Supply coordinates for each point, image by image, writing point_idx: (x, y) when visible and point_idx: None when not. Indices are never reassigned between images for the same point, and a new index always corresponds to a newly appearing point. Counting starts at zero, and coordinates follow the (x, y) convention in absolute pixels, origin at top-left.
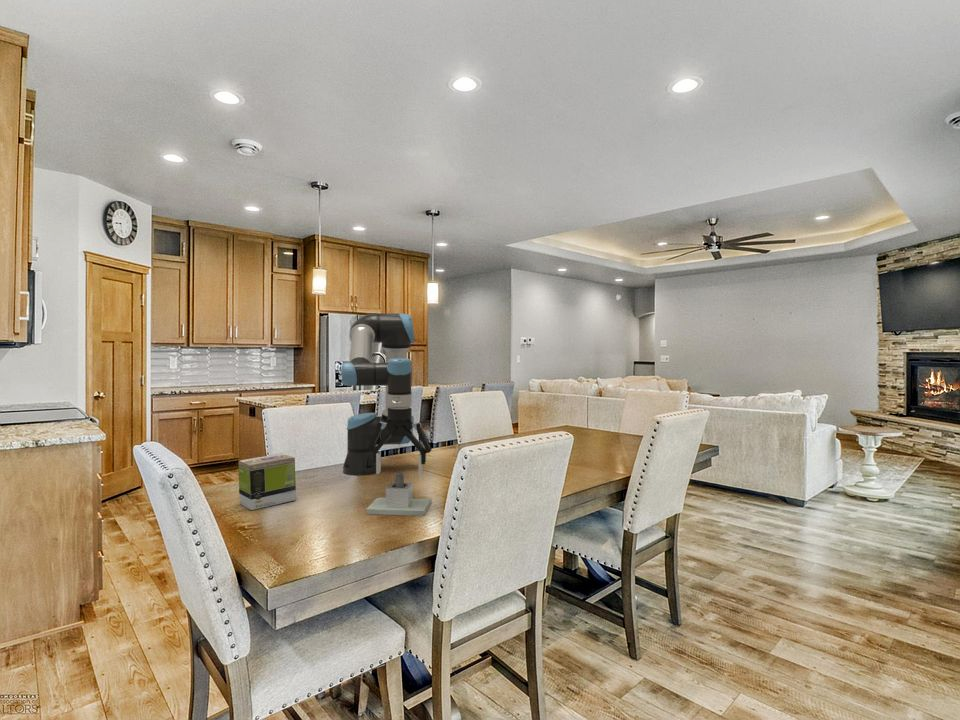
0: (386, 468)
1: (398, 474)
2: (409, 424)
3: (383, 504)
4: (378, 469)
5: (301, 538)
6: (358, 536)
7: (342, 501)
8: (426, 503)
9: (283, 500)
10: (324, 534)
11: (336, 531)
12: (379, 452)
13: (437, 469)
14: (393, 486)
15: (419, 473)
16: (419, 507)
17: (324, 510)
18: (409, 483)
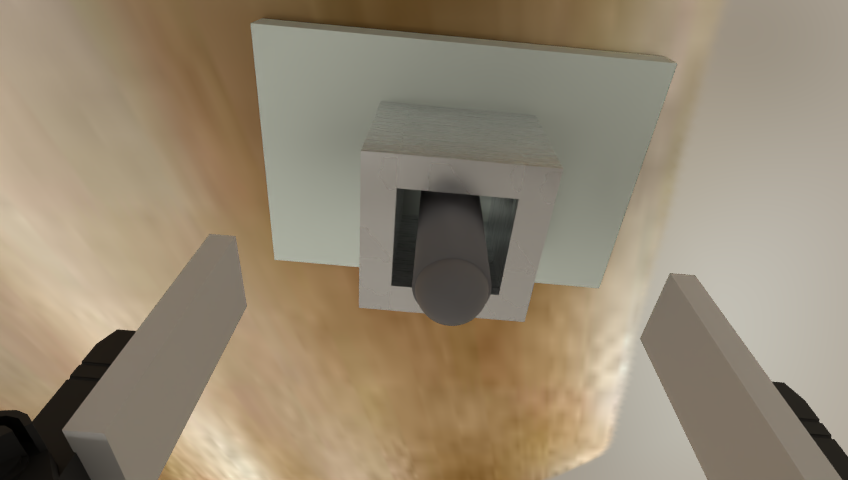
0: None
1: (444, 323)
2: None
3: (347, 183)
4: (229, 337)
5: None
6: (345, 443)
7: (2, 5)
8: (629, 163)
9: None
10: (219, 429)
11: (247, 410)
12: (112, 468)
13: None
14: (396, 209)
15: (655, 352)
16: (577, 235)
17: (25, 191)
18: (532, 189)
